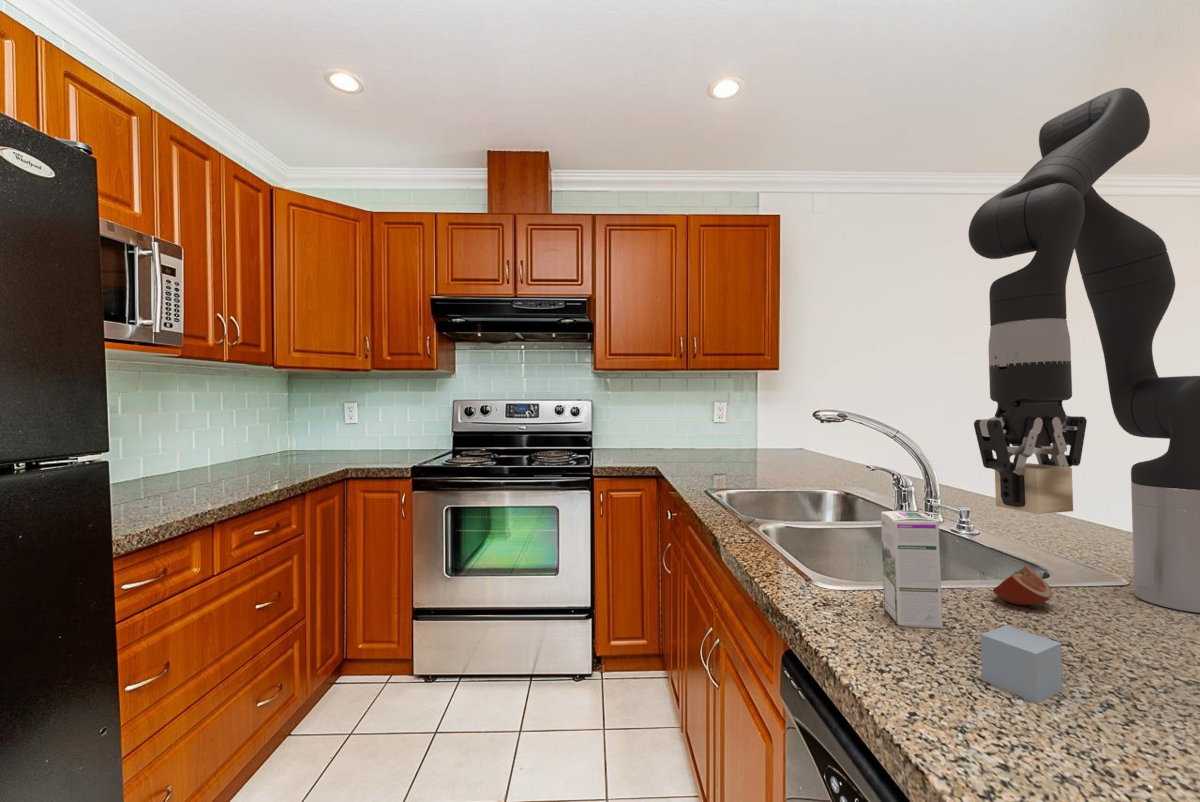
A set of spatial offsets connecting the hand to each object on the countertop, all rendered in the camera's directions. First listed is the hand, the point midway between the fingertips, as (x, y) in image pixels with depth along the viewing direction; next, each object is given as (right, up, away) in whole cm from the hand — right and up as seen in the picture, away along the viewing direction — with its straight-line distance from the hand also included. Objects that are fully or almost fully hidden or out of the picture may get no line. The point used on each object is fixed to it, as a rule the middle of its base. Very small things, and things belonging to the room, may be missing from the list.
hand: (1033, 503), depth 61 cm
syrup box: (-8, -18, +11) cm, 23 cm away
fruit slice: (+11, -18, +15) cm, 26 cm away
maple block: (0, -1, 0) cm, 1 cm away
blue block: (-7, -18, -7) cm, 20 cm away
